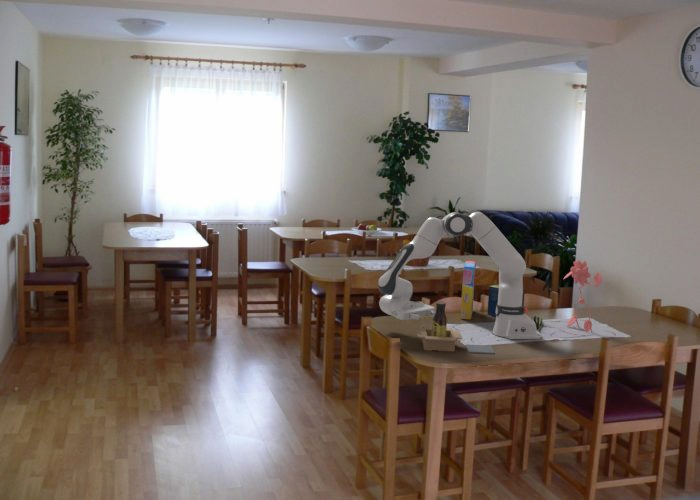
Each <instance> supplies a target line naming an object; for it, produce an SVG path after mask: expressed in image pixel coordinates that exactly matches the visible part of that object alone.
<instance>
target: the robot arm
mask: <svg viewBox="0 0 700 500" xmlns="http://www.w3.org/2000/svg"><path fill="white" fill-rule="evenodd" d="M467 233H469V234H470V235H471V236H473V238H474V239H475V241H476V242H477V243H478V244H479V245H480V246H481V247H482V248H483V250H484V251H485V253H487V255H488V256H489V257H490V259H492V261H493V262H494V264H496V265H497V267H498V268H499V269H498V284H499V293H498V303H497V307H496V317H495V322H494V326H493V329H492V331H491V332H492V334H493V335H495V336H497V337H501V338H505V339H509V340H540V339H541V338H542V334H541V333H540V331H538V329H537V324H536V322H535V320H533V319H532V318H531V317H530V316H529V315H527V313H528V312H529V309H528V307H525V306H522V293H523V289H524V287H523V285H524V284H523V278H524V276H523V275H524V273H525V272H526V269H527V265H526V263H527V262H526V261H525V259H524V258H523V256H522V255H521V254H520V253H519V252H518V250H517V249H516V248H515V247H514V246H513V245H512V244H511V242H510V241H509V240H508V238H506V237H505V235H504V234H503V233H502V232H501V230H500V229H499V228H498V227H497V226H496V225H495V224H494V222H493V221H492V220H491V219H490V218H489V217H488V216H487V215H486V214H484V213H483V212H481V211H474V212H472V213H470V214H469V215H466V214H463V213H461V212H458V211H457V212H456V211H454V212H450V213H448V214H446V215H444V216H443V217H442V218H438V217H433V216H430V217H428V218H426V220H425V221H424V222H423V223H422V225H421V226H420V227H419V230H418V231H417V232H416V235H415V236H414V238H413V239H412V240H411V241H410V242H409V243H407V244H405V245H404V246H402V248H401V249H400V251H399V252H398V253H397V255H396V256H395V258H394V259H393V260H392V262H391V263H390V264H389V266H388V267H387V269H386V270H385V271H384V272H383V273H382V274H381V275H380V276H379V277H378V280H377V288H378V290H379V292H380V293H381V294H383V296H381V297H380V299H379V302H378V304H379V308H380V310H381V311H382V312H383V313H385V314H387V315H389V316H392V317H395V319H398V320H399V321H400V320H401V321H410V320H422V319H421V318H427V317H432V318H434V315H435V313H436V307H434V306H432V305H429V304H426V303H423V302H422V301H419V300H418V301H417V300H416V301H415V300H414V301H412V300H411V299H412V296H413V293H414V285H413V284H412V282H411V281H409V280H407V279H405V278H402V277H400V276H399V275H400V274H401V272H402V271H403V269H404V268H405V266H406V265H407V263H408V262H410V261H411V260H415V259H427V258H429V257H431V256H432V255H434V253H435V251H436V249H437V247H438V246H439V243H440V241H441V240H442V238H443V237H444V236H446V235H449V236H451V237H459V236H460V237H461V236H463V235H465V234H467Z"/></svg>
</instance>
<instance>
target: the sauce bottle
mask: <svg viewBox="0 0 700 500" xmlns="http://www.w3.org/2000/svg"><path fill="white" fill-rule="evenodd" d="M446 303H447V302H444V301H437V302H436V304H435V306H436V307H435V315H434V317H432V322H431V323H432V324H431V325H432V327H431V328H432V336H436V337H446V328H448V327H447V326H448V324H447V323H448V322H447V320H448V317H447V315H446V314H445V313H446Z"/></svg>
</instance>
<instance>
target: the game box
mask: <svg viewBox="0 0 700 500" xmlns="http://www.w3.org/2000/svg"><path fill="white" fill-rule="evenodd" d="M476 264H477V261H474V260H465V262H464V265H463V272H462V273H463V274H462V287H461V304H460V315H459V317H460V319H461V320H472V316H473V312H474V311H473V310H474V299H475V298H474V296H475V285H476V284H475V281H476V266H477V265H476Z"/></svg>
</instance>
